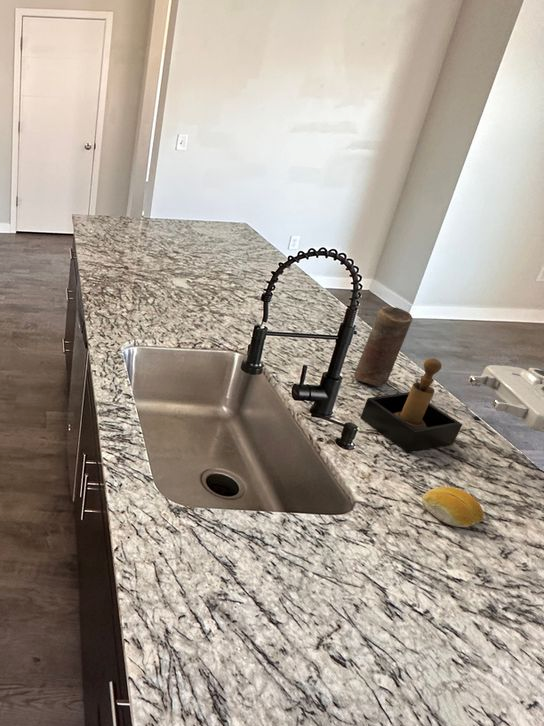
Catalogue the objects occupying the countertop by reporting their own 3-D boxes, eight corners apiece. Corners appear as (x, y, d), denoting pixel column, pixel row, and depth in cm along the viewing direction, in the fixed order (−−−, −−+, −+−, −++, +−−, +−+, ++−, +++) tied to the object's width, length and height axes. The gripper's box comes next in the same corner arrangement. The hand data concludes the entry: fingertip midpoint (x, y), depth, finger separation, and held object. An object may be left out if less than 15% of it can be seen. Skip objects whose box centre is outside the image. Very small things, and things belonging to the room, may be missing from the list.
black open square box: (403, 411, 128) (411, 391, 125) (452, 445, 117) (462, 424, 114) (360, 418, 124) (367, 397, 122) (406, 453, 114) (416, 432, 111)
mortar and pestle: (428, 440, 117) (460, 369, 109) (397, 436, 118) (426, 366, 110) (414, 422, 123) (443, 353, 115) (384, 418, 124) (410, 350, 116)
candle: (388, 381, 140) (415, 312, 131) (384, 393, 134) (411, 321, 126) (356, 370, 144) (379, 303, 135) (350, 381, 139) (374, 311, 130)
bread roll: (488, 520, 97) (497, 503, 96) (458, 535, 94) (466, 518, 92) (441, 489, 104) (449, 473, 102) (411, 502, 101) (419, 485, 99)
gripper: (584, 445, 103) (504, 434, 106) (520, 388, 122) (453, 379, 124) (601, 418, 101) (518, 408, 103) (532, 364, 119) (463, 356, 121)
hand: (482, 392), depth 114 cm, fingers open, 8 cm apart
